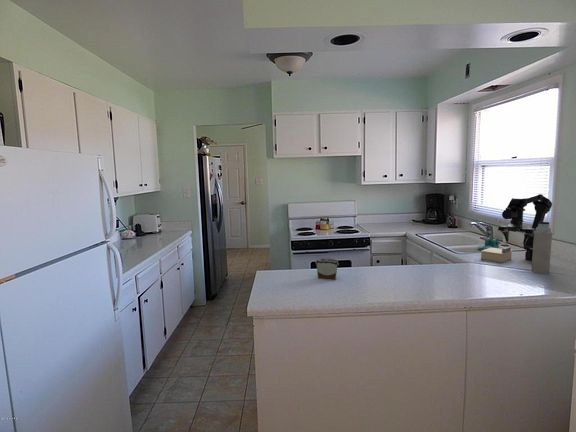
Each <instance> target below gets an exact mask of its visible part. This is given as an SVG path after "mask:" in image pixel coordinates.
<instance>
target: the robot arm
mask: <svg viewBox="0 0 576 432" xmlns="http://www.w3.org/2000/svg"><path fill="white" fill-rule="evenodd" d="M531 203H532V204H533V205H534V210H535V214H534V218H533V222H532V225H531V227H527V228H524V226H523V223H524V212H525V211H526V209H525V207H527V205H528V204H531ZM552 207H553V202H552V201H551V200H550V199H549V198H547V197H545V196H544V194H542V193H533V194H531V195H526V196H523V197H513V198H511V200H510V201H509V203H508V205H507V207H505V209H504V210H503V211H502V213H501V217H502V218H503V219H504V220H510V223H508V224H507V225H499V226H498V227H497V231H499V232H500V233H502V234H503V236H504V239H505V241H506V243H508V242H509V237H510V232H513V233H516V232H519V233H520V232H521V233H524V234H523V236H524V237H523V243H522V244H523V249H524V250H526V251H525V255H524V260H526V261H527V260H528V261H532V255H533V242H534V231H536V227H538V224H539V223H538V222H545V217H546V215H547V213H549V212H550V211H551V209H552Z"/></svg>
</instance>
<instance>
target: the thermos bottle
mask: <svg viewBox="0 0 576 432" xmlns="http://www.w3.org/2000/svg"><path fill="white" fill-rule="evenodd" d="M538 223H539V224H538V227H536V231H534V242H533V255H532V260H531V272H534V273H538V274H549V273H550V268H551V267H550V266H551V265H550V264H551V255H552V254H551V253H552V241H553V240H552V239H553V232H552V228H551V227H550V222H548V221H543V222H538Z"/></svg>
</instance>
